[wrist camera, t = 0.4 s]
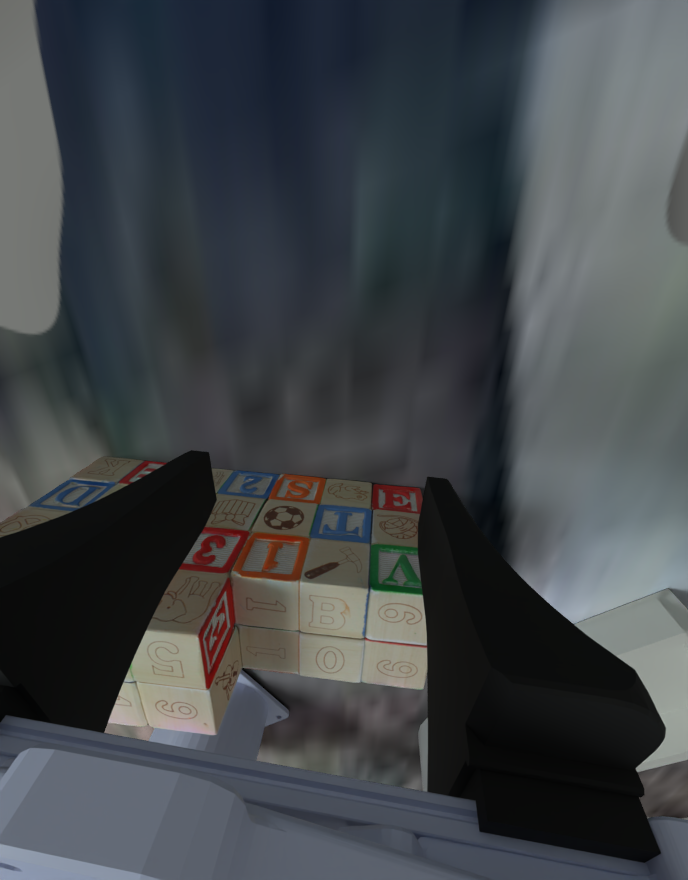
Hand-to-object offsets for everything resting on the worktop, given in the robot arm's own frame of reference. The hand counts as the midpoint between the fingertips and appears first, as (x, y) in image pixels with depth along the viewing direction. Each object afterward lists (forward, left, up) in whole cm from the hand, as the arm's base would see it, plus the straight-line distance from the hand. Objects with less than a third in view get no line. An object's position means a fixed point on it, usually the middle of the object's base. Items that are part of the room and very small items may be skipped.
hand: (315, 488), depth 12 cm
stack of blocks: (-10, -3, -11) cm, 15 cm away
